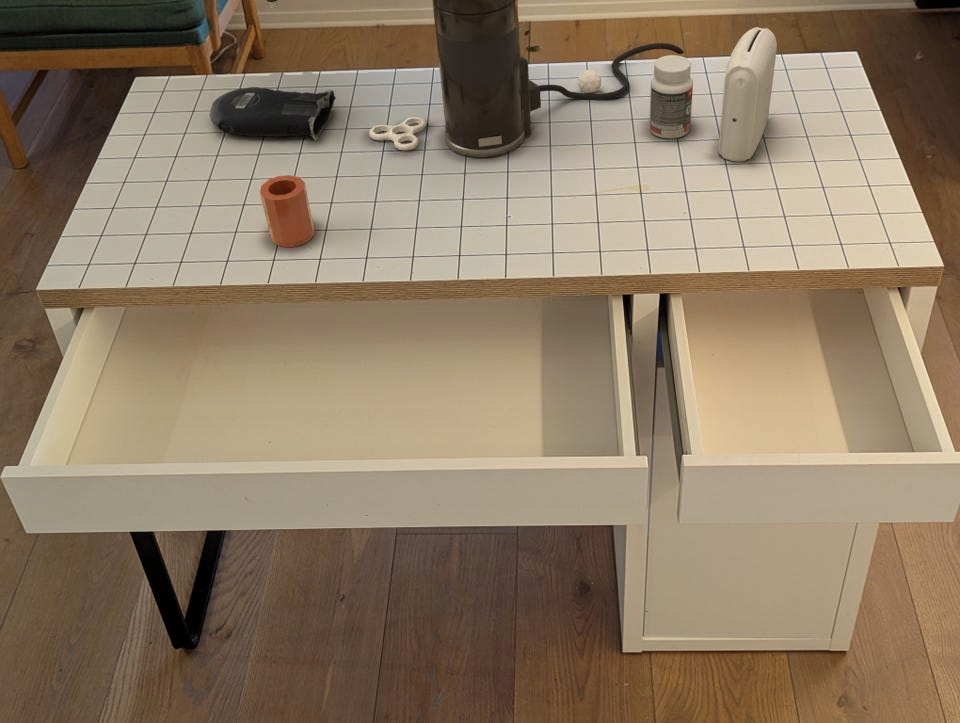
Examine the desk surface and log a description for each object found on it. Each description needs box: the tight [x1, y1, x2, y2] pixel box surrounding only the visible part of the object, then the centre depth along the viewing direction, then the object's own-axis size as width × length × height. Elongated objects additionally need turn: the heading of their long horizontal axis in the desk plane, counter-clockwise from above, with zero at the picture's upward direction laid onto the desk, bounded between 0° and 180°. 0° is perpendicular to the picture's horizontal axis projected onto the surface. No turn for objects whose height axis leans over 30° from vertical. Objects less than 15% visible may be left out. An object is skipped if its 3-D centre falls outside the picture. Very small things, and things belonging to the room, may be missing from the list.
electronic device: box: [209, 86, 337, 142], centre depth 133 cm, size 9×6×15 cm
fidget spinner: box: [368, 116, 427, 151], centre depth 128 cm, size 7×6×1 cm
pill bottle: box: [648, 54, 694, 139], centre depth 123 cm, size 5×5×8 cm
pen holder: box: [259, 174, 315, 248], centre depth 113 cm, size 5×5×6 cm
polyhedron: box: [577, 69, 602, 94], centre depth 133 cm, size 3×3×3 cm
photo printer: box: [718, 26, 778, 162], centre depth 119 cm, size 10×4×12 cm, turn 157°
